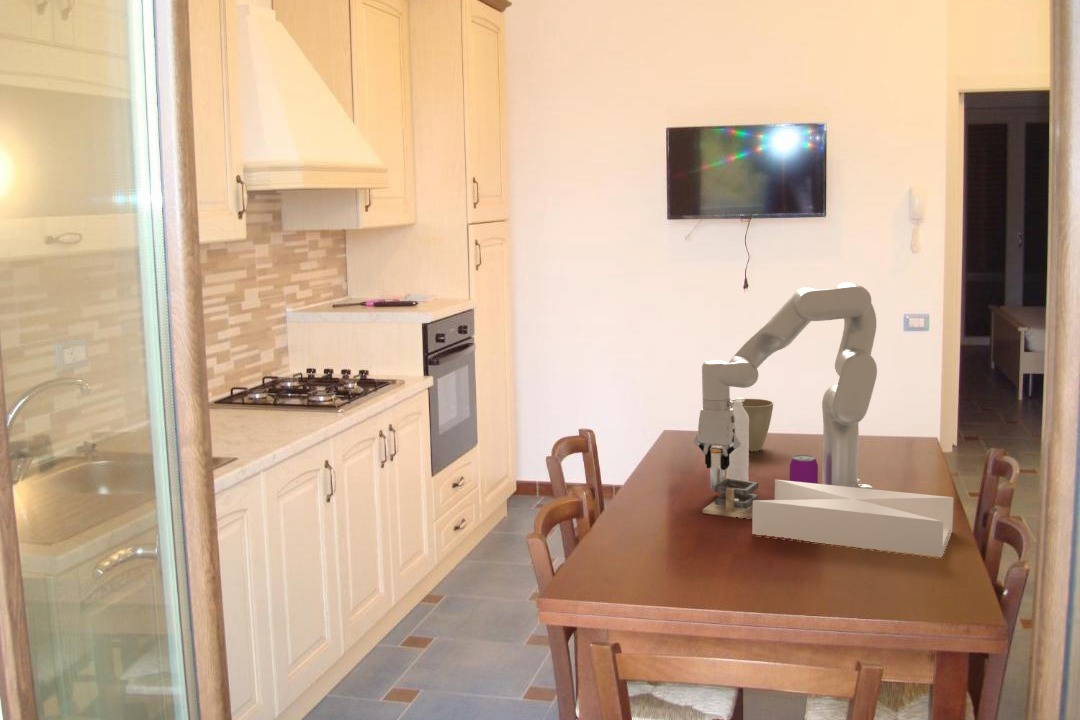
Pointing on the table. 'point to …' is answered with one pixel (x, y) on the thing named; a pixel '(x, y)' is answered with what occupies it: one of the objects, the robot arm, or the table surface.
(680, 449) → the table surface
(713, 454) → the steel tube
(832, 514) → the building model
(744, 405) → the plant pot
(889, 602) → the table surface
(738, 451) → the water bottle
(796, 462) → the beverage can
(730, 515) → the collar stand
